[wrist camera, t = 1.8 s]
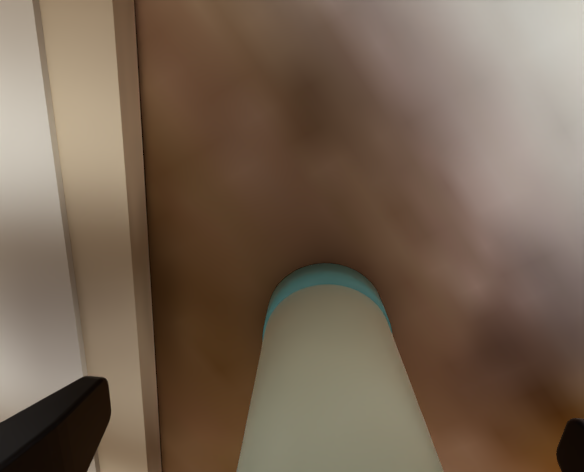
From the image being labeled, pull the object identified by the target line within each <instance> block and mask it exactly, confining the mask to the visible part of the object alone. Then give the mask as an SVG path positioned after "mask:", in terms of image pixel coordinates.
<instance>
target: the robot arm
mask: <svg viewBox="0 0 584 472" xmlns="http://www.w3.org/2000/svg"><path fill="white" fill-rule="evenodd" d="M110 417H111V402H110V393H109V384H108V381H107V379H106V378H104V377H98V376H84V377H81V378H79V379H78V380H76V381H74V382H72V383H70V384H69V385H67V386H65V387H63V388H61V389H60V390H58V391H56V392H54V393H52V394H51V395H49V396H47V397H45V398H43V399H42V400H40V401H38V402H36V403H34V404H33V405H31V406H29V407H27V408H26V409H24V410H22V411H20V412H18V413H17V414H15V415H13V416H11V417H9V418H8V419H6V420H4V421H2V422H0V472H87V471H88V469H89V466H90V464H91V462H92V460H93V457H94V455H95V453H96V451H97V449H98V446H99V444H100V442H101V440H102V437H103V435H104V433H105V431H106V428H107V426H108V424H109V421H110ZM556 455H557V461H558V464H559V466H560V469H561V471H562V472H584V419H580V418H573V419H570V420H569V421H568V422H567V424H566V426H565V429H564V432H563V434H562V437H561V439H560V442H559V445H558V447H557V453H556Z"/></svg>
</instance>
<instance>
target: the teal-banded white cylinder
mask: <svg viewBox="0 0 584 472" xmlns="http://www.w3.org/2000/svg"><path fill="white" fill-rule="evenodd" d="M237 472H444V471H443V468H442V466H441V463H440V460H439V458H438V455H437V452H436V450H435V447H434V444H433V442H432V439H431V436H430V434H429V431H428V428H427V426H426V423H425V420H424V418H423V415H422V413H421V410H420V407H419V405H418V402H417V399H416V397H415V394H414V391H413V389H412V386H411V383H410V381H409V378H408V375H407V373H406V370H405V367H404V365H403V362H402V359H401V357H400V354H399V351H398V349H397V346H396V343H395V341H394V338H393V335H392V329H391V324H390V322H389V319H388V316H387V314H386V311H385V309H384V306H383V304H382V301H381V298H380V296H379V294H378V292H377V290H376V288H375V287H374V286H373V284H372V283H371V282H370V281H369V280H368V279H367V278H366V277H364V276H363V275H362V274H360V273H359V272H357V271H355V270H354V269H351V268H349V267H346V266H342V265H339V264H332V263H320V264H313V265H309V266H305V267H303V268H300V269H298V270H296V271H294V272H292V273H291V274H289V275H288V276H287V277H285V278H284V279H283V280H282V281H281V282H280V283H279V285H278V286H277V287H276V289H275V290H274V292H273V294H272V296H271V298H270V301H269V305H268V309H267V314H266V319H265V324H264V328H263V343H262V348H261V353H260V358H259V363H258V368H257V373H256V378H255V383H254V388H253V393H252V398H251V403H250V408H249V413H248V417H247V422H246V427H245V432H244V437H243V442H242V447H241V452H240V457H239V462H238V467H237Z"/></svg>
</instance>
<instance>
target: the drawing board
mask: <svg viewBox="0 0 584 472" xmlns="http://www.w3.org/2000/svg"><path fill="white" fill-rule="evenodd" d="M84 376H98V377H104V378H106V379H107V381H108V384H109V393H110V402H111V417H110V421H109V424H108V426H107V428H106V431H105V433H104V435H103V437H102V440H101V442H100V444H99V446H98V449H97V451H96V453H95V455H94V457H93V460H92V462H91V464H90V466H89V469H88V471H87V472H162V467H161V450H160V433H159V416H158V399H157V382H156V365H155V348H154V332H153V315H152V298H151V281H150V264H149V247H148V230H147V213H146V196H145V179H144V162H143V145H142V128H141V111H140V94H139V77H138V61H137V44H136V27H135V10H134V0H0V422H2V421H4V420H6V419H8V418H9V417H11V416H13V415H15V414H17V413H18V412H20V411H22V410H24V409H26V408H27V407H29V406H31V405H33V404H34V403H36V402H38V401H40V400H42V399H43V398H45V397H47V396H49V395H51V394H52V393H54V392H56V391H58V390H60V389H61V388H63V387H65V386H67V385H69V384H70V383H72V382H74V381H76V380H78V379H79V378H81V377H84Z"/></svg>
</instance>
